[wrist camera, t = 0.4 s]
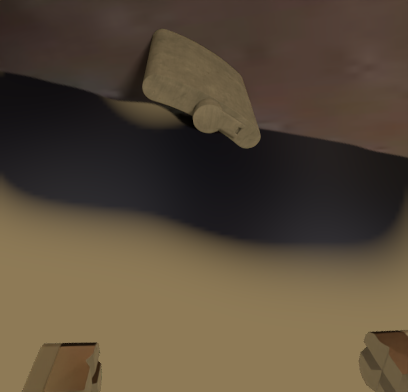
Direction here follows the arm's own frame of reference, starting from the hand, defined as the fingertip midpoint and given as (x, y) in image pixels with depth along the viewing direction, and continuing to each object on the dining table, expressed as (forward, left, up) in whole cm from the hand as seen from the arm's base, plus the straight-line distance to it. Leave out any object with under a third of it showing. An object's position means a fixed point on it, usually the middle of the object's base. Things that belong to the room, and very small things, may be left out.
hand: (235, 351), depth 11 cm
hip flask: (+6, +7, -51) cm, 52 cm away
